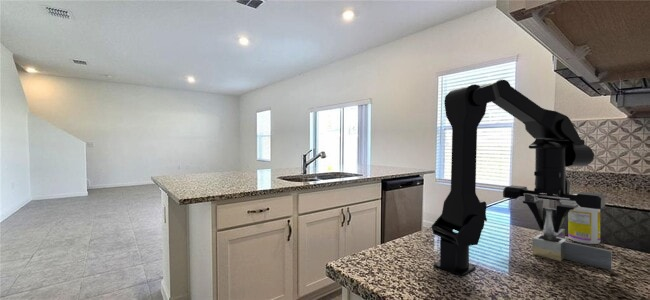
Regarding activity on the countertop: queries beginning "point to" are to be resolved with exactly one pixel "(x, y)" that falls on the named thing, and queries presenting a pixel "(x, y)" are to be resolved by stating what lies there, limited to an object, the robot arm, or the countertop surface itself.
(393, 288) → the countertop surface
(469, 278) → the countertop surface
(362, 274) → the countertop surface
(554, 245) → the hinge
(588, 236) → the supplement bottle
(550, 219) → the hinge pin
